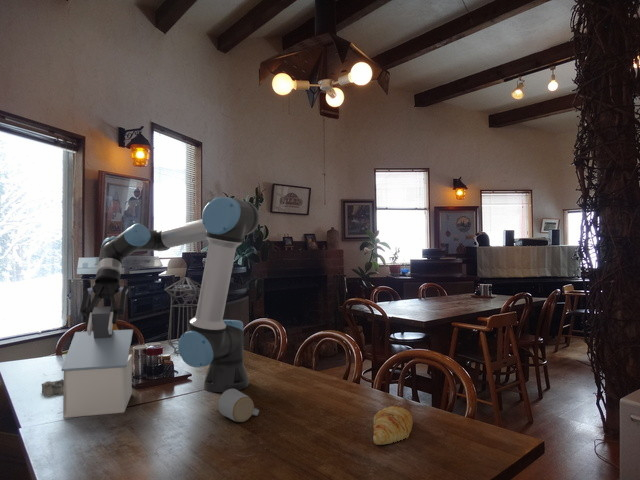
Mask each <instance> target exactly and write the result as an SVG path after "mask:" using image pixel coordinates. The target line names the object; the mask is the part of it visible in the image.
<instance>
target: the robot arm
mask: <svg viewBox="0 0 640 480" xmlns="http://www.w3.org/2000/svg"><path fill="white" fill-rule="evenodd" d="M201 213H202V214H201V219H197V220H192V221H188V222H184V223H180V224H177V225H171V226H168V227H167V226H166V227H164V228H159V229H153V230H152V229H149V228H148V227H147V226H146V225H143V224H141V223H134V224H133V225H131V226H129V227H127V228H126V229H125V230H124V231H123V232H121V233H120V234H119V235H117V236H111V237H106V238H104V240H103V241H102V244H101V247H100V249H99V257H98V263H97V268H96V273H95V274H96V275H95V279H94V284H93V285H92V287H88V288H87V287H86V286H84V287H83V288H82V290H83V296H82V301H81V304H80V315H81V317H85V319H84V323H85V326H87V328H86V332H87V333H88V336H89V335H91V332H92V327H93V324H92V311H93V308H94V307H98V305H99V303H100V302H101V301H102V299H109V300H110V302H111V308H112V312H110V318H109V325H108V332H109V334H112V328H113V324H116V325H117V323H118V316H119V315H124V314H125V310H126V302H127V301H126V300H127V295H128V294H129V287H128V286H127V285H125V286H121V285H120V283H121V274H122V267H123V261H124V259H126V258H127V257H129V256H130V255H131V254H133V253H134V252H137V251H141V252H142V251H143V252H144V251H146V252H149V251H151V252H153V251H154V252H155V251H157V252H163V251H168V250H169V249H171V248H175V247H179V246H185V245H188V244H192V243H193V244H194V243H197V242H198V243H199V242H202V241H208V246H207V247H208V249H207V252H206V257H205V258H206V259H205V264H204V269H203V274H202V280H201V284H200V285H201V286H200V288H201V290H200V292H199V296H198V300H197V302H198V306H196V307H197V308H196V312H195V316H193V318H192V317H191V319H189V321H188V322H189V327H188V331H184V334H183V335H182V334H181V336H180V337H179V338H178V339H179V340H178V341H179V342H178V341H177V343H178V345H177V348H178V349H177V352H178V354H179V356H180V357H181V359H182V361H183V362H184V363H185V364H186V365H187V366H188V367H192V368H196V369H197V368H202V367H207V366H208V368H207V371H206V375H205V377H204V381H203V388H204V390H206V391H208V392H213V393H224V392H225V391H226V390H228V389H236V390H238V391H242V390H244V389H246V388H248V386H249V377H248V373H247V370H246V367H245V364H244V349H245V348H244V343H245V342H244V336H245V335H244V334H245V330H244V323H243V321H242V320H238V319H236V320H235V319H224V315H225V309H226V302H227V300H228V299H227V298H228V293H229V287H230V282H231V276H232V272H233V267H234V261H235V257H236V251H237V248H238V247H239V246H240V245H242V244H243V240H244V236H246V235H250V234H252V233H253V232H254V231H256V230H257V228H258V225H259V224H260V214H259V210H258V209H257V207H256V206H255V205H254V204H252V202H250V201H247V200H242V199H241V200H240V199H238V198H237V199H236V198H233V197H227V196H218V197H215V198H213V199H212V200H210V201H208V203H207V204H206V205H205V206H204V208H203V210H202V212H201ZM118 292H119V293H120V300H119V302H120V303H119V308H118V307H117V303H116V298H115V295H117V294H118ZM92 293H94V297H93V298H92V300H91V302H90V296H91V295H92ZM89 302H90V304H89Z"/></svg>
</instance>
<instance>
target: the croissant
mask: <svg viewBox="0 0 640 480" xmlns="http://www.w3.org/2000/svg"><path fill="white" fill-rule="evenodd" d="M413 423H414V420H413V415H412V413H411V411H410V410H409V409H406V408H404V407H402V406H401V405H399V406H397V405H391V406H387V407H384V408H381V409H380V410H378V411H377V412H376V414H375V415H374V417H373V425H372V426H373V427H372V429H373V443H374V444H375V445H378V446H382V445H390V444H393V442H394V443H397V441H398V442H400V440H401V441H403V439H405V438H406V439H405V440H407V439H408V438H409V437H410V434H411V432H412V429H413Z"/></svg>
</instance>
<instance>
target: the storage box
mask: <svg viewBox="0 0 640 480" xmlns="http://www.w3.org/2000/svg"><path fill="white" fill-rule="evenodd" d="M132 367H133V354H129V356H128V362H127V367H120V368H105V369H89V370H74V371H63V380H64V389H63V393H62V395H63V399H62V400H63V401H62V404H63V406H62V408H63V410H62V413H63V414H62V418H76V417H77V418H78V417H87V416H98V415H108V414H110V415H111V414H119V413H120V414H121V413H122V414H123V413H125V412H126V409H127V406H128V404H129V401H130V400H131V397H132V394H133V391H132V390H133V387H132V386H133V385H132V384H133V382H132V381H133V374H132V373H133V368H132Z"/></svg>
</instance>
